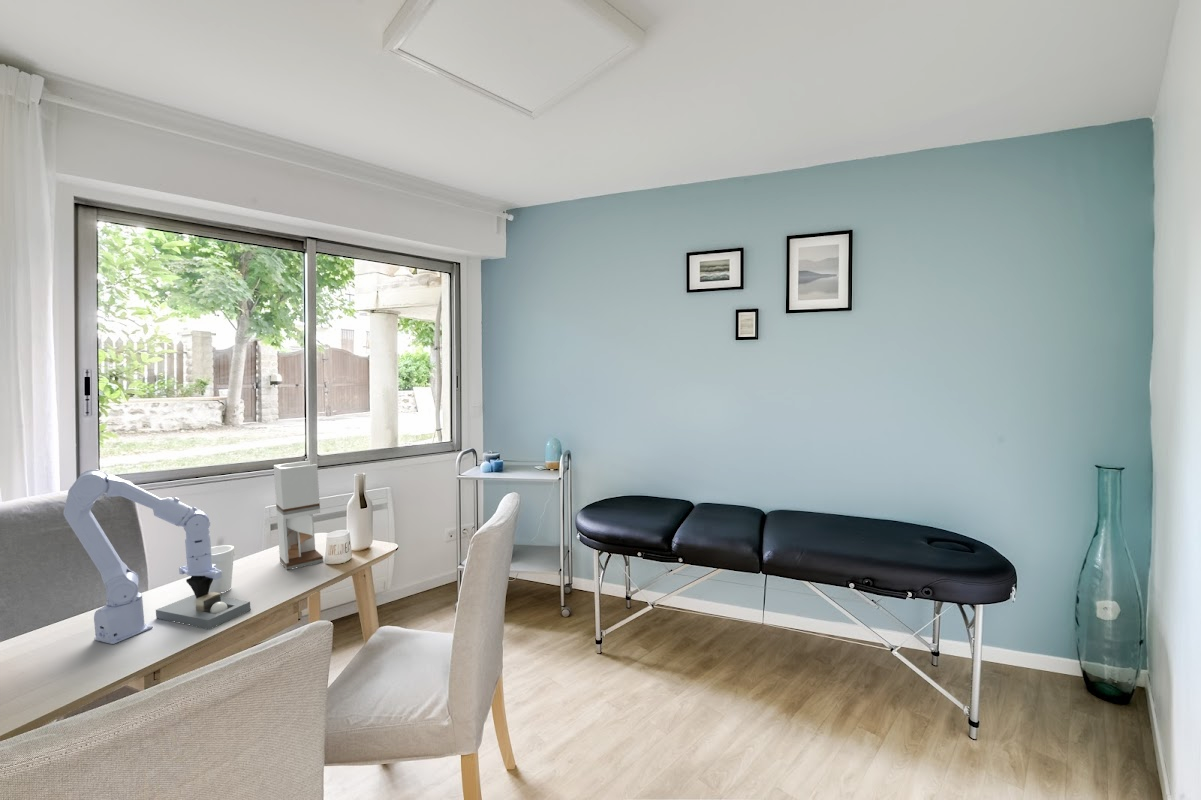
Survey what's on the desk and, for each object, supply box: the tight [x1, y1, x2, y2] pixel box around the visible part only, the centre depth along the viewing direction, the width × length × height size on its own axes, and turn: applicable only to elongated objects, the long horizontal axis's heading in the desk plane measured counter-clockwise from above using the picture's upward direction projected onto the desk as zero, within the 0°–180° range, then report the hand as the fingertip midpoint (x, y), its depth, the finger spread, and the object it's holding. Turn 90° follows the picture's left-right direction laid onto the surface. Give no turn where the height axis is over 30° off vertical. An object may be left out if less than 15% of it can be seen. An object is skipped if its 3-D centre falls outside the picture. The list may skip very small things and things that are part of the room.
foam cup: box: [208, 544, 235, 594], centre depth 174 cm, size 10×9×13 cm
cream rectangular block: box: [195, 592, 222, 611], centre depth 157 cm, size 5×3×3 cm
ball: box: [210, 602, 228, 614], centre depth 156 cm, size 4×4×4 cm
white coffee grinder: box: [273, 460, 324, 570], centre depth 197 cm, size 11×11×35 cm
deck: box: [155, 594, 251, 630], centre depth 158 cm, size 12×21×2 cm, turn 70°
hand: (202, 600), depth 158 cm, fingers closed
